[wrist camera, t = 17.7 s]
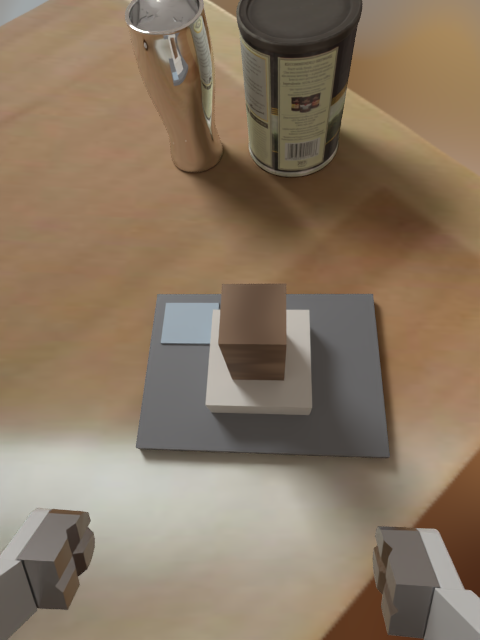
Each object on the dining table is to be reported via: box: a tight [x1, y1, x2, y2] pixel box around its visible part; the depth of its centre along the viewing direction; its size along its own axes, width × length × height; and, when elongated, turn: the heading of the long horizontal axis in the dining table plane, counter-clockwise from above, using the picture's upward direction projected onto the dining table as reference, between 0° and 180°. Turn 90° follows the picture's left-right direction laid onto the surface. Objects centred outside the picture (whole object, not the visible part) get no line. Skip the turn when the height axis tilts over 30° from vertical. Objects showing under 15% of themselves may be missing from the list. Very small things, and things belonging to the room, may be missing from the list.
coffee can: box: [237, 0, 362, 177], centre depth 39 cm, size 10×10×14 cm
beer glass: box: [125, 0, 223, 172], centre depth 39 cm, size 7×7×15 cm
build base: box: [136, 294, 390, 458], centre depth 33 cm, size 20×14×4 cm
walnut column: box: [218, 284, 287, 381], centre depth 27 cm, size 4×4×8 cm
